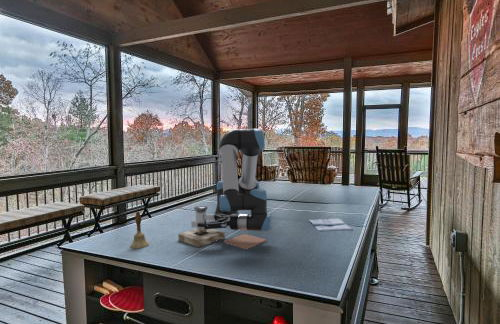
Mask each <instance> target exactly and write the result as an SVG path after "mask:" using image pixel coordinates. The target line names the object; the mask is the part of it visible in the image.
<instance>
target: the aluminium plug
mask: <svg viewBox="0 0 500 324" xmlns="http://www.w3.org/2000/svg"><path fill="white" fill-rule="evenodd" d="M193 210H194V211H195V221H202V222H204V221H206V222H207V220H206V214H207V210H208V206H207V205H197V206H194V207H193ZM195 229H196V235H199V236H202V235H206V234H207V229H206V230H205V229H204V228H198V227H195Z"/></svg>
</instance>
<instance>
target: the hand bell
mask: <svg viewBox="0 0 500 324" xmlns="http://www.w3.org/2000/svg"><path fill="white" fill-rule="evenodd" d="M134 220H135V224H136V233H135V234H134V235H133V240H132V243H131V244H130V246H129V247H130V248H131V249H143V248H145V247H148V246H149V245H150V243H149V241H147V239H146V237H145V233H144V232H142V231H141V230H142V228H141V223H142V216H141V213H140V211H136V212H135V217H134Z"/></svg>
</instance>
